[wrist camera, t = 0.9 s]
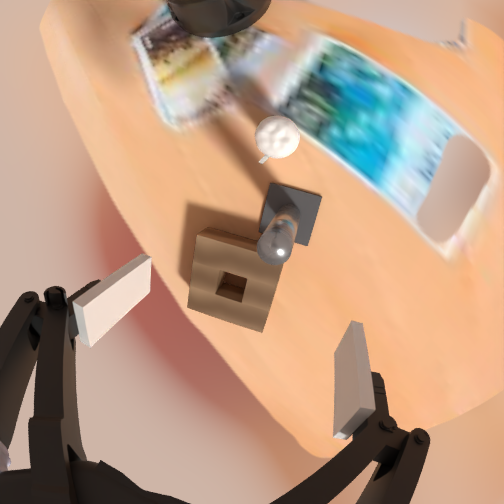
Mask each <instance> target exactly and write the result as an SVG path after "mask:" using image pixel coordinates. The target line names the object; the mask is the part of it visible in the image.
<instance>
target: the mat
mask: <svg viewBox="0 0 504 504" xmlns="http://www.w3.org/2000/svg"><path fill="white" fill-rule="evenodd" d="M321 199H322V197H321V196H317V195H314V194H310V193H307V192H303V191H300V190H296V189H293V188H289V187H285V186H282V185H278V184H274V183H270V186H269V190H268V195H267V199H266V203H265V207H264V211H263V216H262V220H261V224H260V228H259V232H260V233H264V231H265V230H266V228H267V227H268V225H269V224H270V223H271V221H272V220H273V218H274V217H275V215H276V214H277V212H278V211H279V210H280V208H281V207H282V206H283V205H285V204H293V205H295V206H297V207H298V209H299V210H300V213H301V217H300V221H299V225H298V229H297V233H296V237H295V240H294V242H295V243H298V244H302V245H305V246H308V243H309V240H310V236H311V233H312V230H313V226H314V223H315V220H316V216H317V213H318V209H319V206H320V202H321Z"/></svg>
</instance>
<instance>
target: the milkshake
mask: <svg viewBox="0 0 504 504" xmlns="http://www.w3.org/2000/svg"><path fill="white" fill-rule="evenodd" d="M299 139H300V134H299V131H298V128H297V127H296V125H295V124H294V122H293V121H291V120H290V119H288V118H286V117H283V116H270V117H267V118H265V119H264V120H262V121H261V122H260V124H259V125H258V127H257V129H256V131H255V141H256V144H257V147H258V149H259V150H260V151H261V152H262V153H263V154H265V156H264V157H263V158H262V159H261V160H260V161H259V163H261V164H263V163H264V162H265V161H266V160H267V159H268V158H269V157H272V158H284V157H286V156H288V155H290V154H292V153H293V152H294V151H295V149H296V148H297V146H298V144H299Z"/></svg>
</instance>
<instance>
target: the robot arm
mask: <svg viewBox="0 0 504 504" xmlns="http://www.w3.org/2000/svg"><path fill="white" fill-rule="evenodd" d="M166 1H167V4H168V6H169V9H170V11H171V14H172V17H173V19H174V20H175V22H176V23H177V24H178V25H179V26H180V27H182V28H183V29H184V30H185V31H187V32H188V33H190V34H193V35H195V36H199V37H207V38H213V37H222V36H227V35H231V34H234V33H236V32H239V31H241V30H243V29H245V28H247V27H249V26H251V25H252V24H253V23H255V22H256V21H257V20H259V19H260V18H261V17H262V16H263V14H264V13H265V12H266V11H267V9H268V7H269V5H270V2H271V0H166ZM151 258H152V257H150V256H148V255H145V254H141V255H139V256H138V257H136V258H135V259H133V260H132V261H130V262H128V263H127V264H126V265H124V266H122V267H121V268H120V269H118V270H117V271H115V272H114V273H112V274H111V275H109V276H108V277H106V278H105V279H104V280H102V281H101V280H96V281H92V282H90V283H89V284H87V285H86V286H85V287H83V288H81V289H80V290H78V291H77V292H76V293H74V294H73V295H71V296H70V297H68V298H67V297H66V291H65V289H64V288H62V287H59V286H53V287H50V288H48V289H46V290H45V292H44V297H45V302H42V301H39V296H38V294H37V293H36V292H33V291H29V292H25V293H23V294H22V295H21V296H20V297H19V299H18V300H17V302H16V304H15V305H14V306H13V308H12V310H11V311H10V313H9V314H8V316H7V317H6V319H5V321H4V322H3V324H2V325H1V327H0V504H190V503H187V502H184V501H182V500H179V499H177V498H174V497H172V496H167V495H162V494H158V493H153V492H149V491H145V490H143V489H141V488H140V487H138V486H137V485H136V484H135V483H134V482H132V481H131V480H130V479H129V478H128V477H126V476H125V475H124V474H123V473H122V472H120V471H118V470H116V469H115V468H113V467H111V466H110V465H108V464H106V463H105V462H103V461H101V460H100V462H99V463H96V462H91V461H87V459H86V455H85V452H84V450H83V447H82V442H81V435H80V427H79V418H78V408H77V394H76V367H75V354H76V353H75V352H76V341H75V337H76V336H77V335H78V334H79V337H80V341H81V342H82V343H84V344H85V345H87V346H89V347H92V345H94V344H95V343H96V342H97V341H98V340H99V339H100V338H101V337H102V336H103V335H104V334H105V333H106V332H107V331H108V330H109V329H110V328H111V327H112V326H113V325H115V324H116V323H117V322H118V321H119V320H120V319H121V318H122V317H123V316H124V315H125V314H126V313H127V312H129V311H130V310H131V309H132V308H133V307H134V306H135V305H136V304H137V303H138V302H139V301H140V300H141V299H143V298H144V297H145V296H146V295H147V294H148V293H149V292H150V277H151ZM334 358H335V393H334V426H333V438H339V439H346V440H347V439H348V438H349V437H350V436H351V435H352V434H353V441H352V442H350V443H349V444H348V445H347V446H346V447H345V448H344V449H343V450H342V451H340V452H339V453H338V454H337V455H336V456H335V457H334V458H332V459H331V460H330V461H329V462H328V463H326V464H325V465H324V466H323V467H321V468H320V469H319V470H318V471H316V472H315V473H314V474H313V475H311V476H310V477H308V478H307V479H306V480H304V481H303V482H302V483H300V484H299V485H297V486H296V487H294V488H293V489H292V490H290V491H289V492H287V493H286V494H284V495H283V496H281V497H279V498H278V499H276V500H275V501H273V502H271V503H270V504H327V503H329V502H330V501H331V500H332V499H333V498H334V497H336V496H337V495H338V494H339V493H340V492H341V491H342V490H343V489H344V488H346V486H348V485H349V484H350V483H351V482H352V481H353V480H354V479H355V478H356V477H357V476H358V475H359V474H360V473H361V472H362V471H363V470H364V469H365V468H366V467H367V465H368V464H369V463H370V462H371V461H372V460H373V461H376V462H378V465H377V467H376V469H375V471H374V473H373V474H372V477H371V478H370V480H369V482H368V484H367V485H366V488H365V489H364V491H363V492H362V494H361V496H360V498H359V499H358V501H357V503H356V504H409V503H410V501H411V498H412V496H413V493H414V491H415V488H416V486H417V483H418V480H419V477H420V474H421V472H422V469H423V465H424V462H425V459H426V456H427V452H428V449H429V445H430V437H429V435H428V433H427V432H426V431H425V430H423V429H421V428H415V429H414V430H412V431H411V432H407V431H405V430H402V429H400V428H398V427H397V424H396V421H395V420H394V419H393V418H392V417H391V416H389V411H388V404H387V397H386V391H385V385H384V380H383V378H382V377H381V375H380V373H376V372H371V369H370V363H369V356H368V350H367V344H366V339H365V333H364V328H363V323H359V322H355V321H351V323H350V325H349V327H348V328H347V330H346V332H345V334H344V336H343V338H342V340H341V342H340V344H339V345H338V347H337V349H336V351H335V353H334ZM36 361H37V366H36V377H35V392H34V416H33V417H32V418H30V419H29V423H28V431H29V432H28V434H29V453H30V463H31V464H30V465H31V468H30V469H21V470H11V471H8V470H7V467H8V466H10V464H11V460H10V458H9V453H8V448H9V445H10V443H11V440H12V437H13V433H14V430H15V426H16V422H17V418H18V414H19V411H20V407H21V404H22V401H23V398H24V394H25V391H26V388H27V385H28V382H29V379H30V377H31V374H32V371H33V369H34V366H35V363H36Z"/></svg>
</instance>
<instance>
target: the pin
mask: <svg viewBox="0 0 504 504" xmlns="http://www.w3.org/2000/svg"><path fill="white" fill-rule="evenodd" d="M300 217H301V213H300V210H299V209H298V207H297V206H295V205H293V204H285V205H283V206H282V207H281V208H280V210H279V211H278V212H277V214H276V215H275V217H274V218H273V220H272V221H271V223H270V224H269V225H268V227H267V228H266V230H265V231H264V233H263V234H262V236H261V237H260V239H259V240H258V243H257V253H258V255H259V257H260V258H261V259H262V260H263V261H264V262H265V263H267V264H270V265H280V264H283V263H284V262H286V261H287V260H288V259H289V257H290V255H291V252H292V248H293V244H294V240H295V237H296V233H297V229H298V225H299V221H300Z"/></svg>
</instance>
